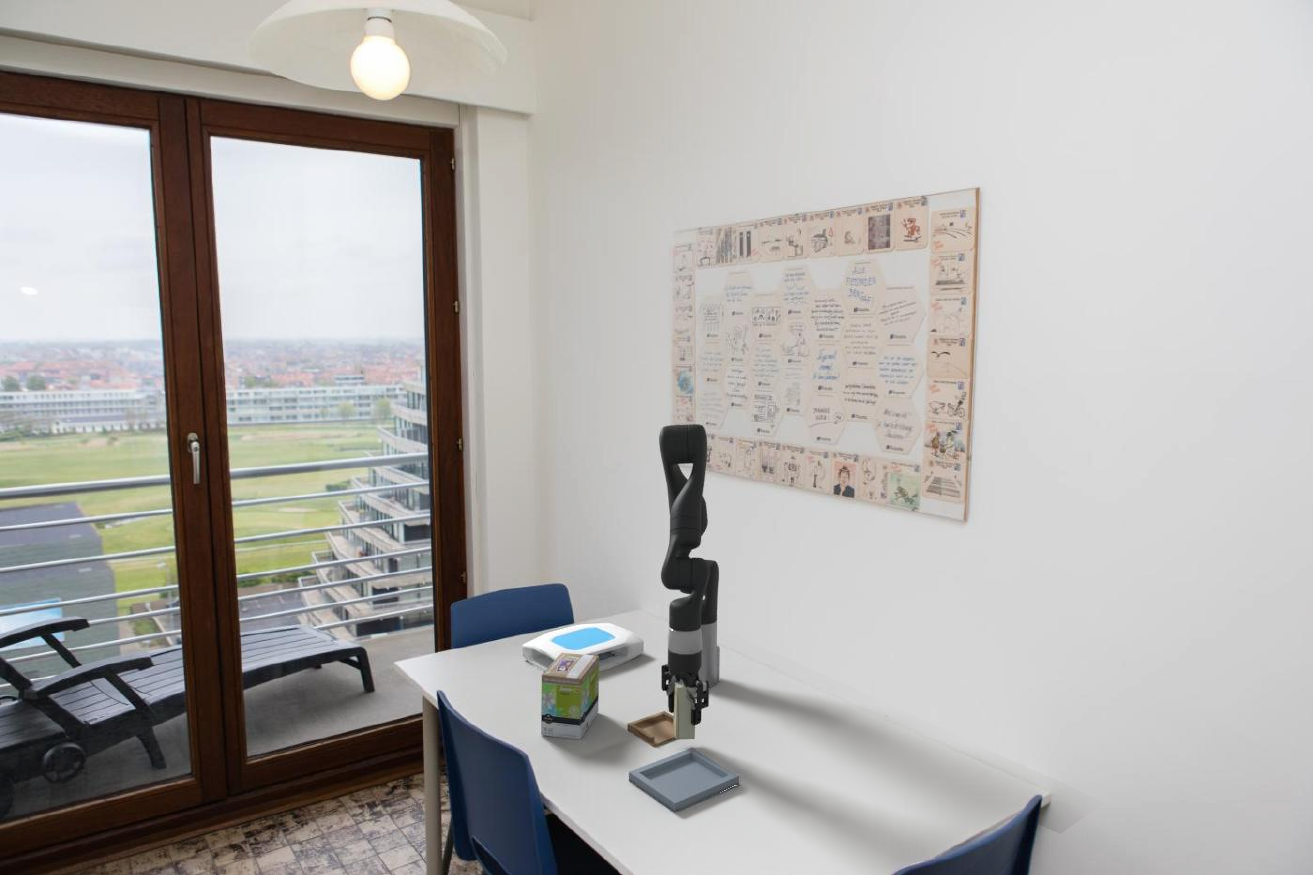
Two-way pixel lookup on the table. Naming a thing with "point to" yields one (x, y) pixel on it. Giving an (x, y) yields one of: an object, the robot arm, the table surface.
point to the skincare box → (683, 713)
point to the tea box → (569, 695)
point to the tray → (683, 779)
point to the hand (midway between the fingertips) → (684, 717)
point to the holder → (654, 728)
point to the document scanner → (584, 644)
